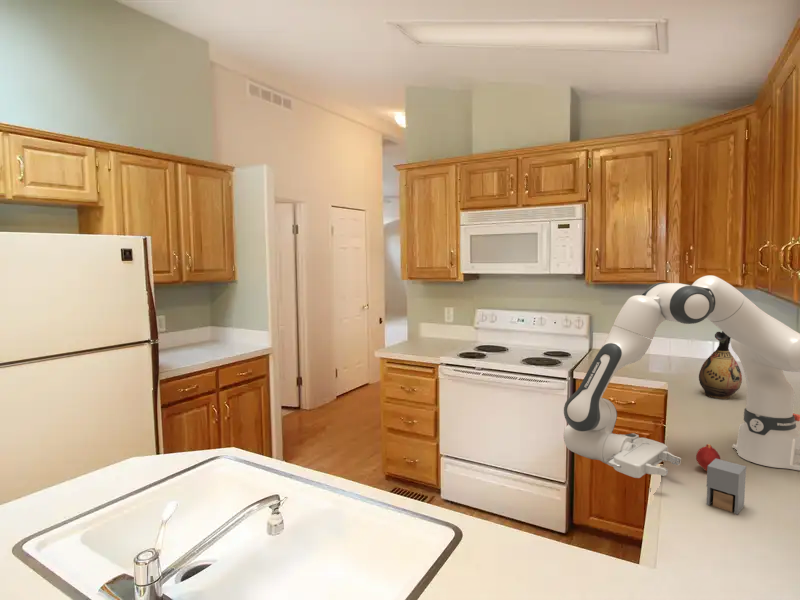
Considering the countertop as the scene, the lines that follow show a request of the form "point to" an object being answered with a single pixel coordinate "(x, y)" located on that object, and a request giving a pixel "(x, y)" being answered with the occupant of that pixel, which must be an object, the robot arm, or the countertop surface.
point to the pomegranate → (706, 456)
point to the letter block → (723, 500)
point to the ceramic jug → (720, 371)
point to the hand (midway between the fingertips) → (673, 466)
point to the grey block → (726, 481)
